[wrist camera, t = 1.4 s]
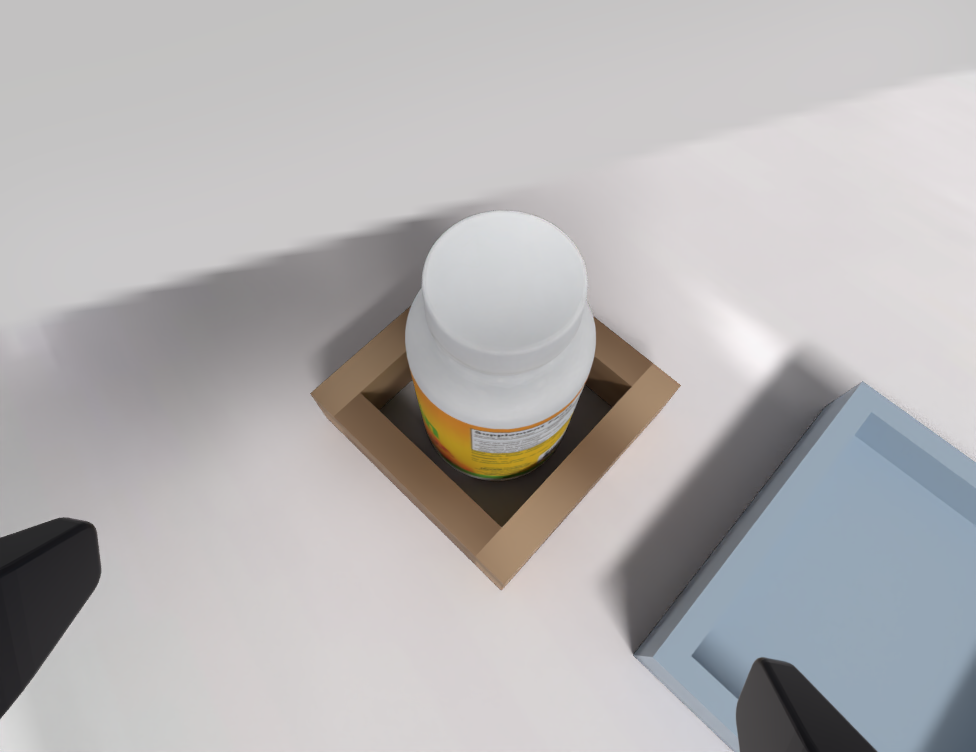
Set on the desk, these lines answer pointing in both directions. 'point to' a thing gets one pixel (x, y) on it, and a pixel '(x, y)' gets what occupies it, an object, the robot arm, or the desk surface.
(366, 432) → the frame
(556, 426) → the supplement bottle
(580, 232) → the desk surface
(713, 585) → the tray
